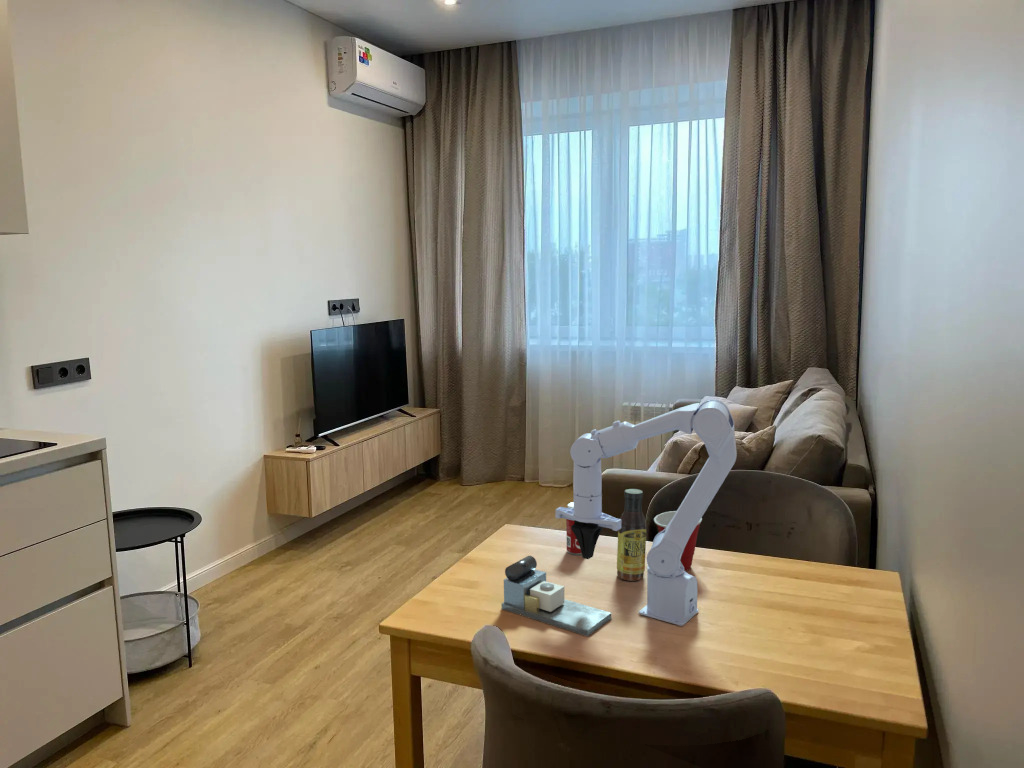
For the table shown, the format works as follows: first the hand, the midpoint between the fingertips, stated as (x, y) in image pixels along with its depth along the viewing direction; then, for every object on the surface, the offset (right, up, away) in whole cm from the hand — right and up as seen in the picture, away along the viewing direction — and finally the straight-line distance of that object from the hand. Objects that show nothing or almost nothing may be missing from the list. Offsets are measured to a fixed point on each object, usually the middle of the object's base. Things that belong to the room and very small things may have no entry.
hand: (587, 557), depth 154 cm
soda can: (0, -6, +30) cm, 30 cm away
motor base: (-7, -11, -3) cm, 13 cm away
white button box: (-8, -9, -2) cm, 13 cm away
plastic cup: (+23, -7, +19) cm, 31 cm away
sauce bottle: (+11, -8, +14) cm, 20 cm away
